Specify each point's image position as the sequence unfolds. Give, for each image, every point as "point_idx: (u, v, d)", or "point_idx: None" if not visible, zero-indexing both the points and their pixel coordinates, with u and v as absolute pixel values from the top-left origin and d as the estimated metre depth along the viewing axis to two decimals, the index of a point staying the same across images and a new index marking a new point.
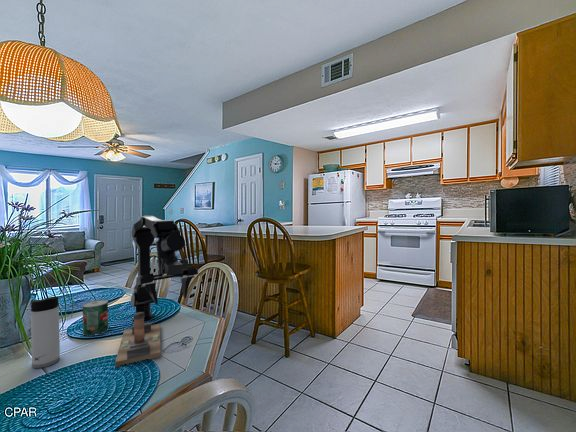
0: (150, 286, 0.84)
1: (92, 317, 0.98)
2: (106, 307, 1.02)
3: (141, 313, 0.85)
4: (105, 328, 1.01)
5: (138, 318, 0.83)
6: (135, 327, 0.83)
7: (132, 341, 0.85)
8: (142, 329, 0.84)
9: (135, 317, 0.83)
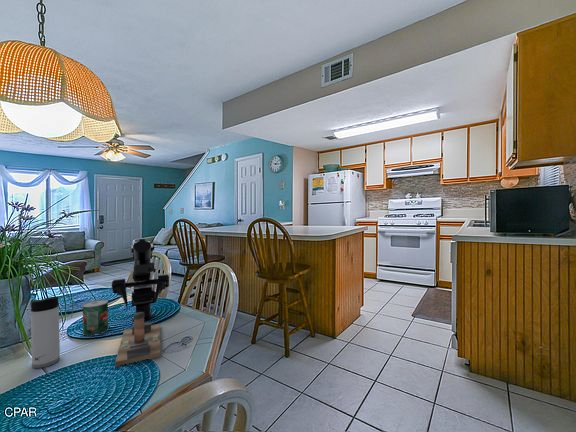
0: (120, 288, 0.94)
1: (92, 317, 0.98)
2: (106, 307, 1.02)
3: (141, 313, 0.85)
4: (105, 328, 1.01)
5: (138, 318, 0.83)
6: (135, 327, 0.83)
7: (132, 341, 0.85)
8: (142, 329, 0.84)
9: (135, 317, 0.83)
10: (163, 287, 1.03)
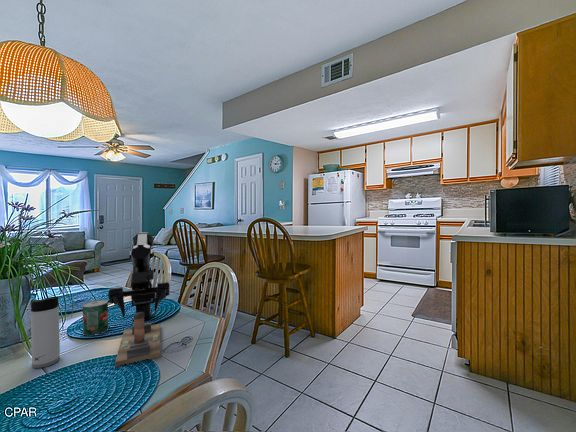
0: (117, 297, 0.88)
1: (92, 317, 0.98)
2: (106, 307, 1.02)
3: (141, 313, 0.85)
4: (105, 328, 1.01)
5: (138, 318, 0.83)
6: (135, 327, 0.83)
7: (132, 341, 0.85)
8: (142, 329, 0.84)
9: (135, 317, 0.83)
10: (163, 296, 0.97)
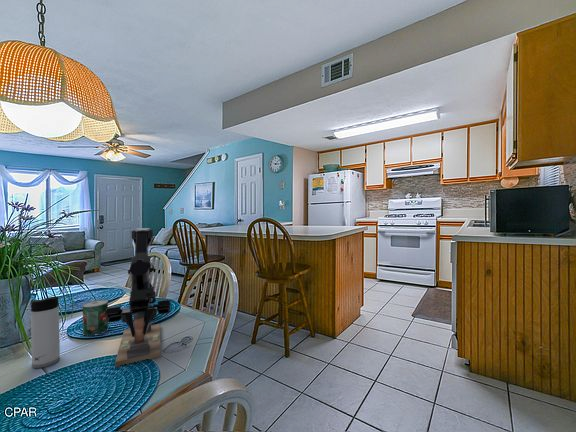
0: (126, 315, 0.84)
1: (92, 317, 0.98)
2: (106, 307, 1.02)
3: (141, 313, 0.85)
4: (105, 328, 1.01)
5: (138, 318, 0.83)
6: (135, 327, 0.83)
7: (132, 341, 0.85)
8: (142, 329, 0.84)
9: (135, 317, 0.83)
10: (154, 315, 0.90)
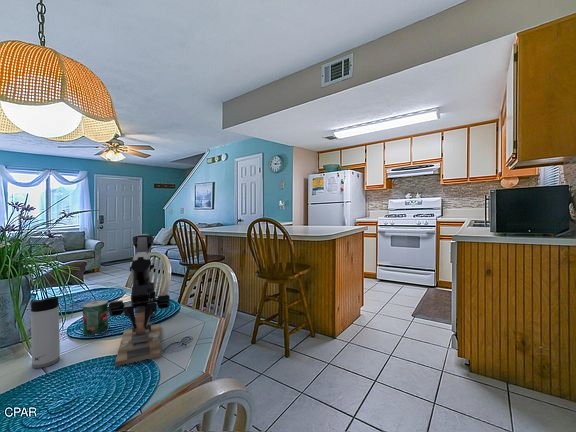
0: (128, 309, 0.89)
1: (92, 317, 0.98)
2: (106, 307, 1.02)
3: (142, 307, 0.90)
4: (105, 328, 1.01)
5: (139, 312, 0.89)
6: (137, 320, 0.89)
7: (133, 333, 0.90)
8: (143, 322, 0.90)
9: (136, 311, 0.88)
10: (154, 309, 0.96)
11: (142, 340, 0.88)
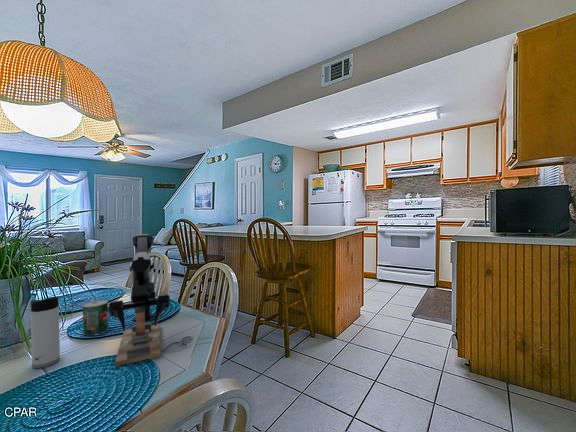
0: (117, 311, 0.88)
1: (92, 317, 0.98)
2: (106, 307, 1.02)
3: (142, 307, 0.90)
4: (105, 328, 1.01)
5: (139, 312, 0.89)
6: (137, 320, 0.89)
7: (133, 333, 0.90)
8: (143, 322, 0.90)
9: (136, 311, 0.88)
10: (163, 308, 0.97)
11: (142, 340, 0.88)
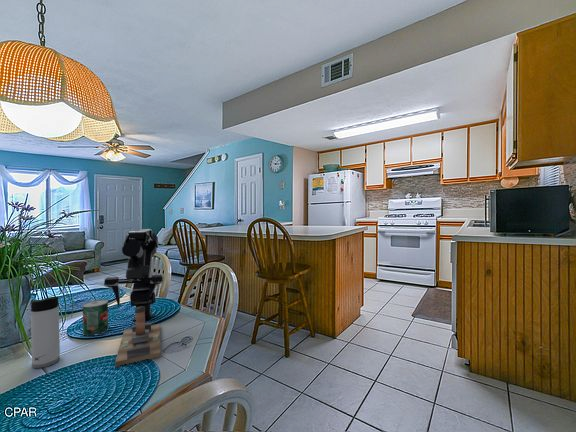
0: (113, 288, 0.94)
1: (92, 317, 0.98)
2: (106, 307, 1.02)
3: (142, 307, 0.90)
4: (105, 328, 1.01)
5: (139, 312, 0.89)
6: (137, 320, 0.89)
7: (133, 333, 0.90)
8: (143, 322, 0.90)
9: (136, 311, 0.88)
10: (156, 285, 1.03)
11: (142, 340, 0.88)
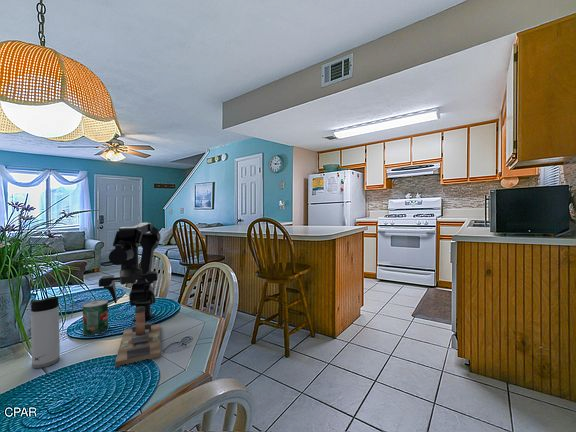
0: (108, 288, 0.95)
1: (92, 317, 0.98)
2: (106, 307, 1.02)
3: (142, 307, 0.90)
4: (105, 328, 1.01)
5: (139, 312, 0.89)
6: (137, 320, 0.89)
7: (133, 333, 0.90)
8: (143, 322, 0.90)
9: (136, 311, 0.88)
10: None
11: (142, 340, 0.88)
